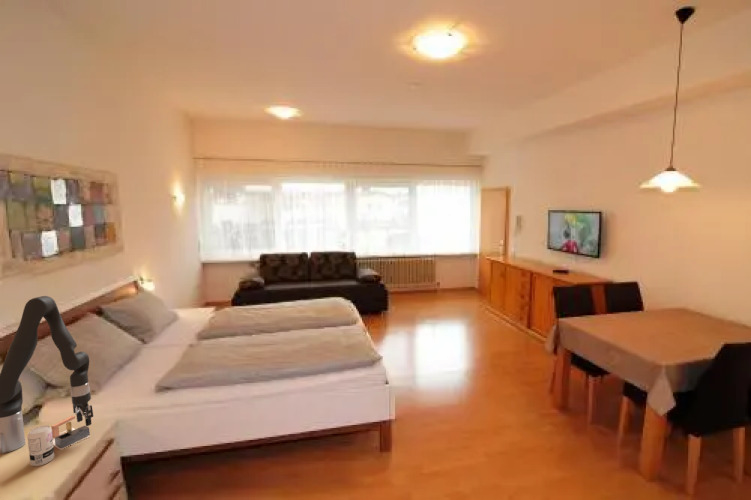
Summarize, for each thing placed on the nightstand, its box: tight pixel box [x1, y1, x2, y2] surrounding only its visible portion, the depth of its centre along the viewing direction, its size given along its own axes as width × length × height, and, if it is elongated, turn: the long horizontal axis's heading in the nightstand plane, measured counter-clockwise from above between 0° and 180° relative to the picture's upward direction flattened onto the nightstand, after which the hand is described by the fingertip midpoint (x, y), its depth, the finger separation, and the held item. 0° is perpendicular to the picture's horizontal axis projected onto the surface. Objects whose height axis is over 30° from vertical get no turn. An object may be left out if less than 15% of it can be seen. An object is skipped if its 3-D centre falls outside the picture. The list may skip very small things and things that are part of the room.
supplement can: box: [27, 425, 55, 467], centre depth 172 cm, size 8×8×15 cm
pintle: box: [65, 421, 73, 432], centre depth 191 cm, size 2×2×8 cm
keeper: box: [50, 415, 76, 438], centre depth 195 cm, size 10×2×6 cm, turn 164°
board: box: [53, 427, 91, 451], centre depth 190 cm, size 12×18×1 cm
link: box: [55, 425, 91, 450], centre depth 188 cm, size 12×6×4 cm, turn 151°
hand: (84, 423), depth 192 cm, fingers open, 8 cm apart
